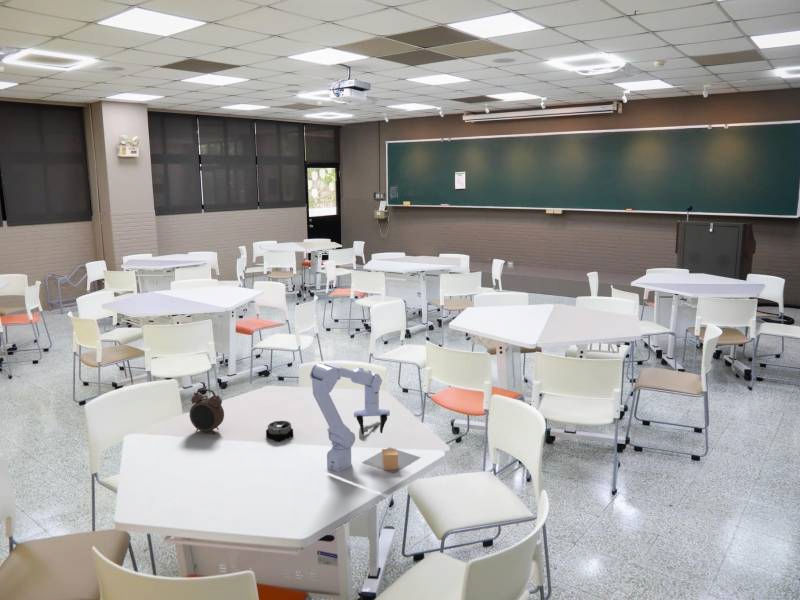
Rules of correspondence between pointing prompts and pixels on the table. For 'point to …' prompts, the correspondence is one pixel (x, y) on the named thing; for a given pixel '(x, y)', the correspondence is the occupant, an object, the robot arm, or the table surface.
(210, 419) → the alarm clock
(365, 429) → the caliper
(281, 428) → the cpu cooler
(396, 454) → the orange cube
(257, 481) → the table surface
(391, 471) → the duct panel
